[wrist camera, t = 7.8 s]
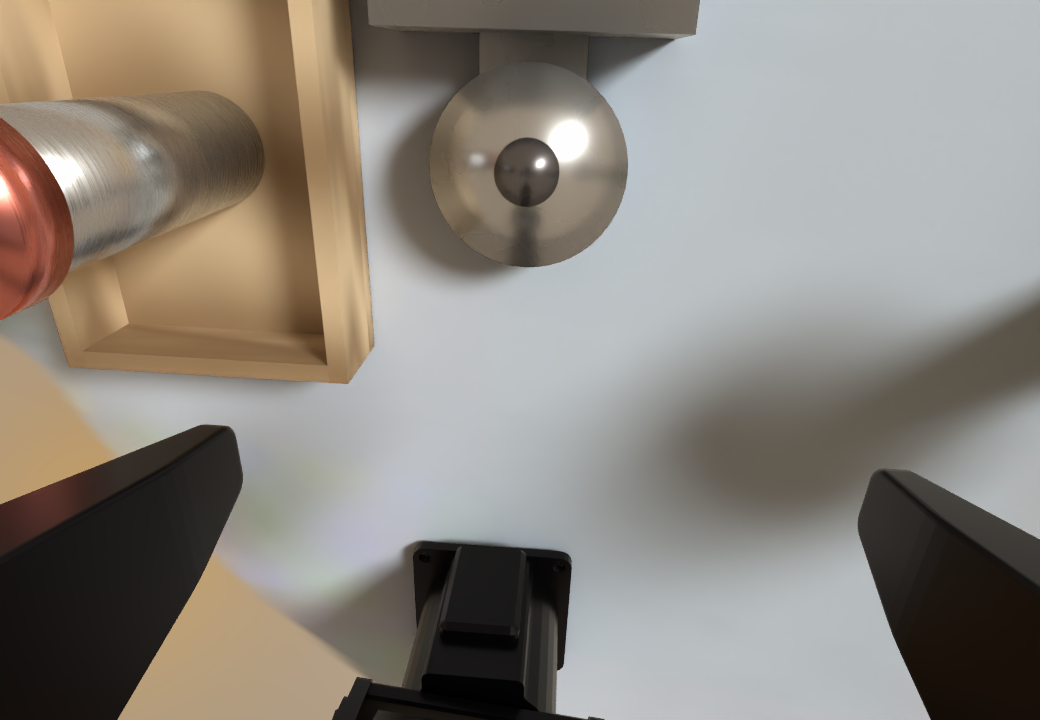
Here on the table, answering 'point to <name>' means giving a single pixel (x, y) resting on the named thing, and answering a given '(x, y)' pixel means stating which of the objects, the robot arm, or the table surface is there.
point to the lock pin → (112, 179)
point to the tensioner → (532, 120)
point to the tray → (233, 230)
